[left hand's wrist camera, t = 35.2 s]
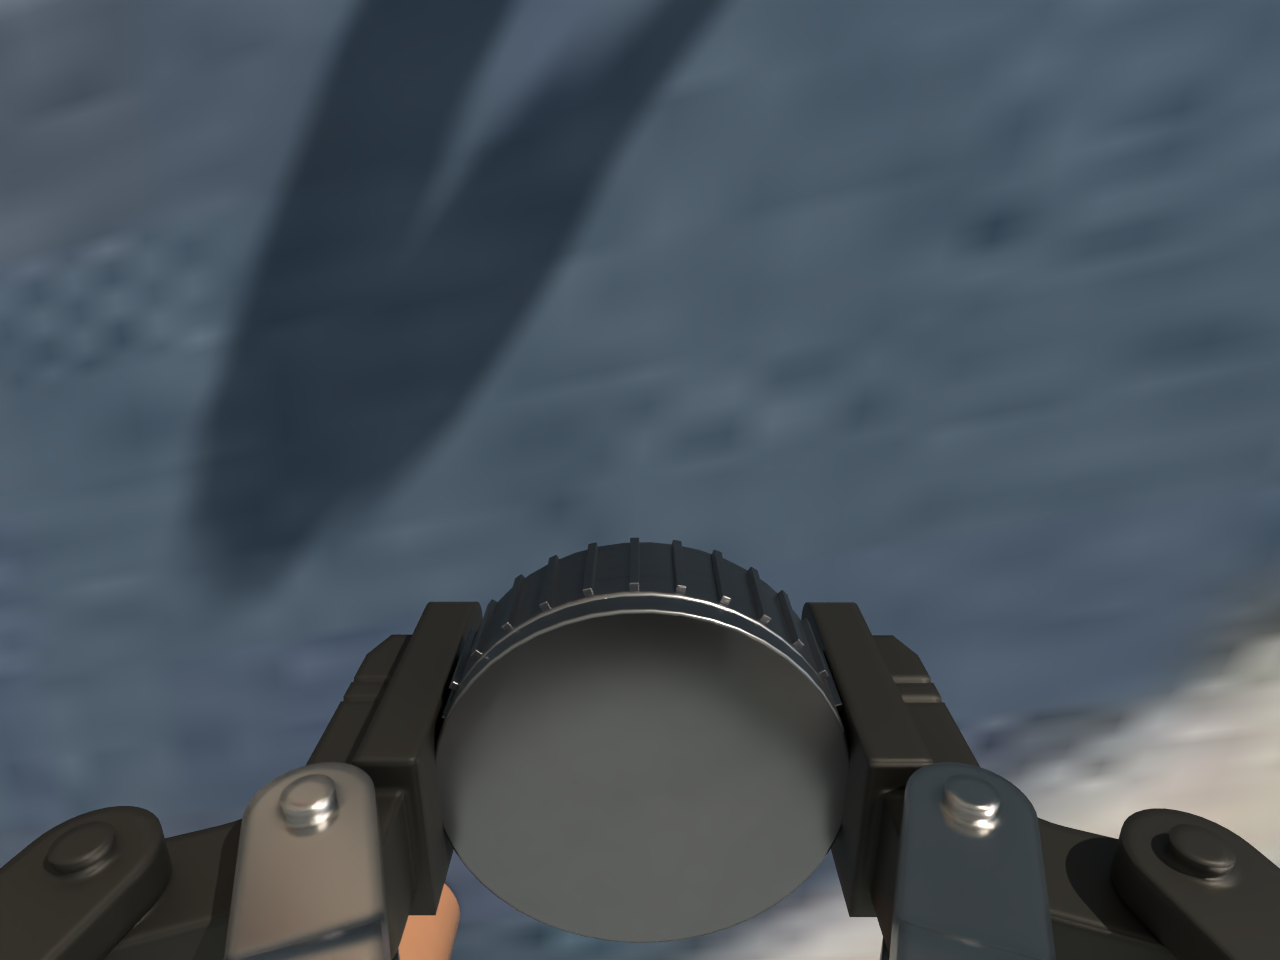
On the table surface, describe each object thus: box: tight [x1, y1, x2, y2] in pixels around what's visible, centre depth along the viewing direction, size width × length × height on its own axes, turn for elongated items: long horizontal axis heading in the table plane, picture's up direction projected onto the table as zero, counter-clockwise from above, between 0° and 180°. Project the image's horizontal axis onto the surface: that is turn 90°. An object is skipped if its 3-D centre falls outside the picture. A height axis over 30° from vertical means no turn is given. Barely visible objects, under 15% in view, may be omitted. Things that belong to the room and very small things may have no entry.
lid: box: [435, 538, 850, 943], centre depth 10 cm, size 5×5×2 cm
